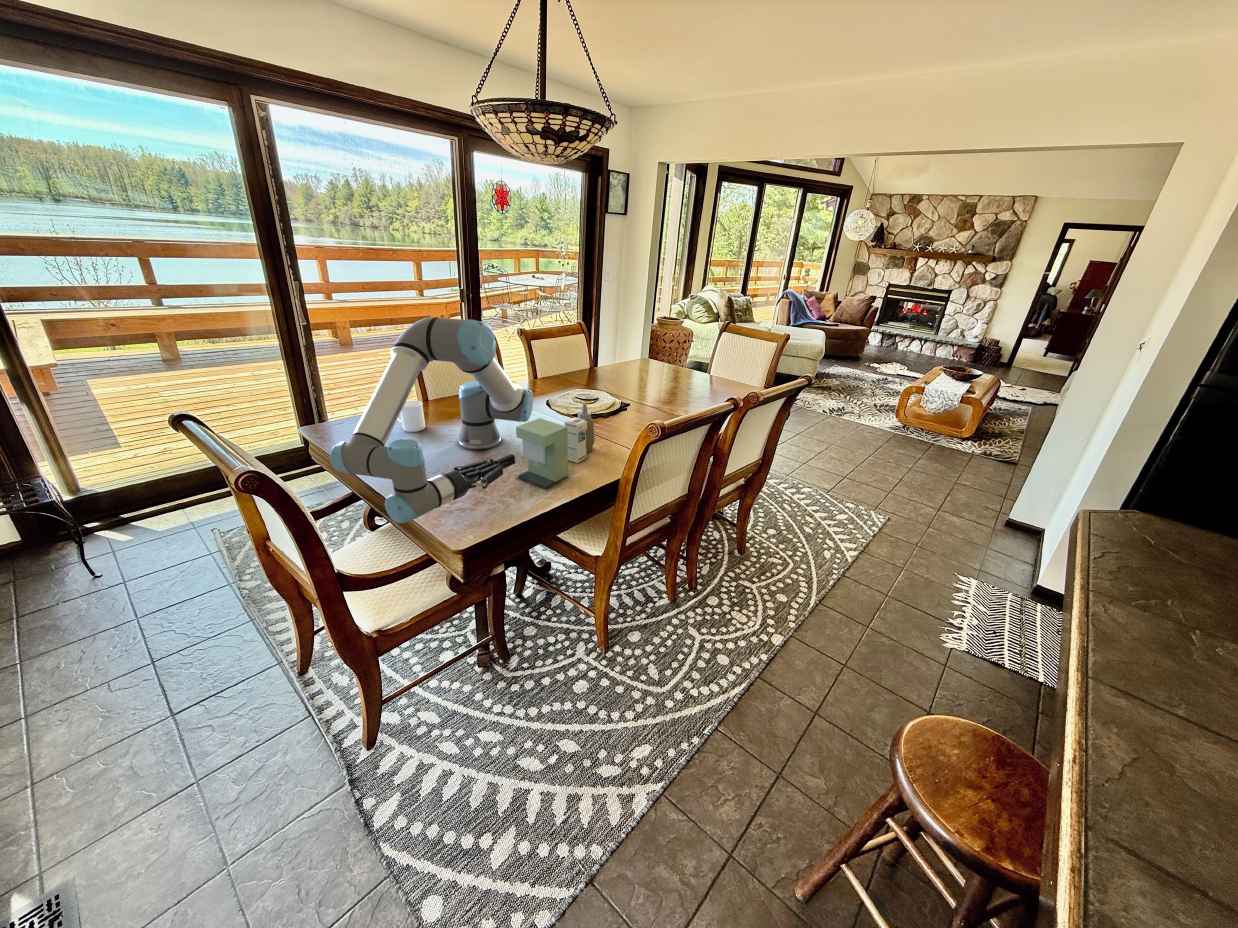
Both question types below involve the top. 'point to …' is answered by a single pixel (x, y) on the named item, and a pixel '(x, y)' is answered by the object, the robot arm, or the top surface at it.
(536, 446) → the push plate
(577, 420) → the syrup box
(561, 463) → the dispenser
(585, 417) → the squeeze bottle
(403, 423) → the mug
